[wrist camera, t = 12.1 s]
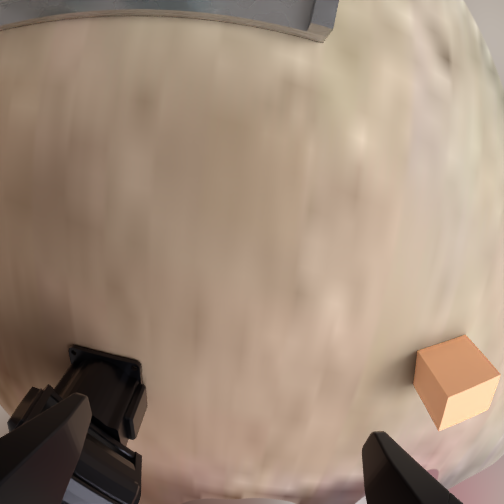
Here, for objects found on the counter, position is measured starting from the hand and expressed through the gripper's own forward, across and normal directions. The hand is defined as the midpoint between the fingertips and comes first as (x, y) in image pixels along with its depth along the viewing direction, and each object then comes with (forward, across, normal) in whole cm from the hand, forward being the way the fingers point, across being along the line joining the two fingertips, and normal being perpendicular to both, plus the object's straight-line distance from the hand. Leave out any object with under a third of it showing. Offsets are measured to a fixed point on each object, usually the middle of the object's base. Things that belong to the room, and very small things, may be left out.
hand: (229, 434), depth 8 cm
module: (+13, -18, +6) cm, 23 cm away
